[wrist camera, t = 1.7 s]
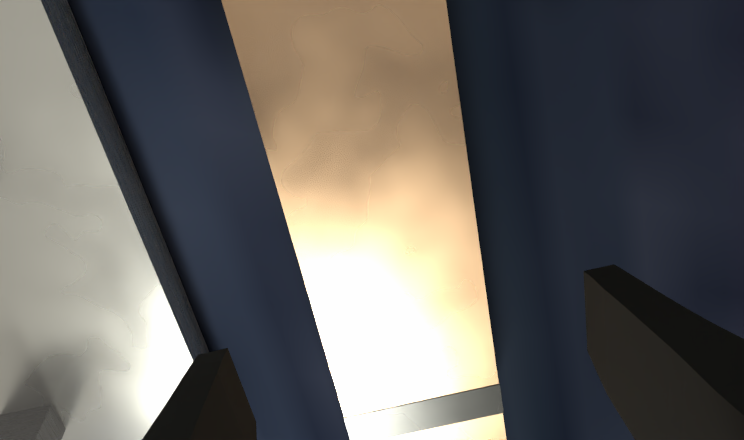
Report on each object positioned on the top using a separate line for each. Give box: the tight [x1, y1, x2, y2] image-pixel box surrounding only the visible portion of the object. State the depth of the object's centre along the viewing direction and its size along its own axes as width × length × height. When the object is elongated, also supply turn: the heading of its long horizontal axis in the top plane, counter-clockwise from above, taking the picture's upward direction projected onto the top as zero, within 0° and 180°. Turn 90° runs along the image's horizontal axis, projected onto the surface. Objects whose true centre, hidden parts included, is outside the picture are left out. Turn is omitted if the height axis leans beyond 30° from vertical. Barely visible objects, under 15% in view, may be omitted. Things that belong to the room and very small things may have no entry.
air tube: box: [222, 0, 506, 440], centre depth 17 cm, size 18×4×4 cm, turn 11°
